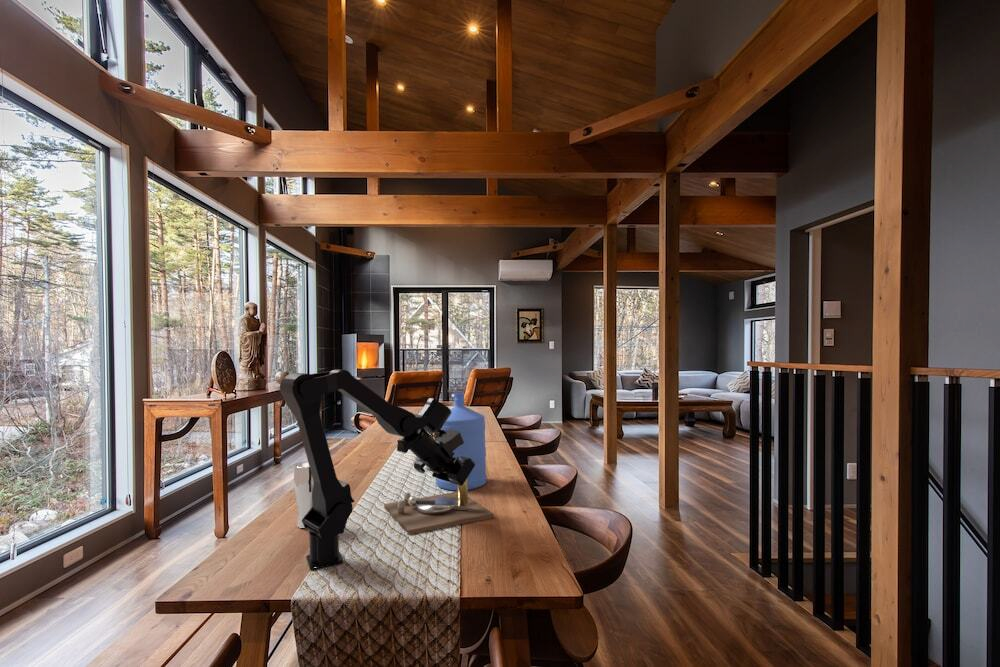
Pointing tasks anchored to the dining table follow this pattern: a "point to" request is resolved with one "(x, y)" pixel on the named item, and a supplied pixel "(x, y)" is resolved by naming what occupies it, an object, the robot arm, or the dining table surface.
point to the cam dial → (442, 502)
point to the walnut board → (423, 522)
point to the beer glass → (303, 490)
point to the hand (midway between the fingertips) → (462, 484)
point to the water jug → (467, 442)
